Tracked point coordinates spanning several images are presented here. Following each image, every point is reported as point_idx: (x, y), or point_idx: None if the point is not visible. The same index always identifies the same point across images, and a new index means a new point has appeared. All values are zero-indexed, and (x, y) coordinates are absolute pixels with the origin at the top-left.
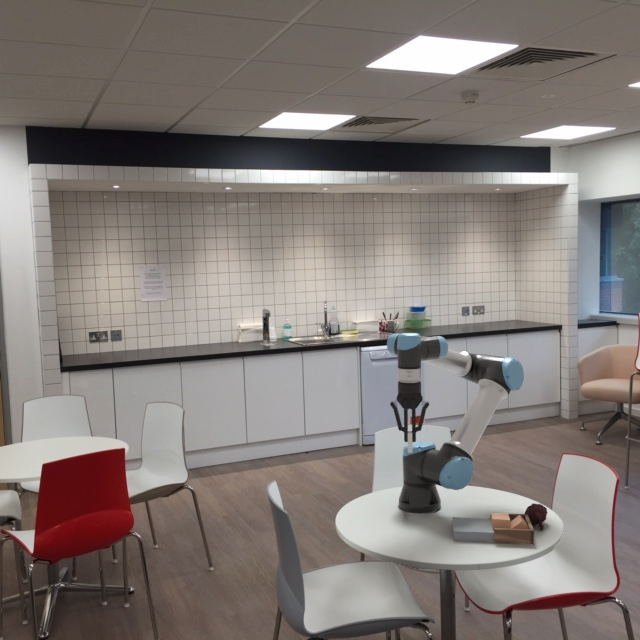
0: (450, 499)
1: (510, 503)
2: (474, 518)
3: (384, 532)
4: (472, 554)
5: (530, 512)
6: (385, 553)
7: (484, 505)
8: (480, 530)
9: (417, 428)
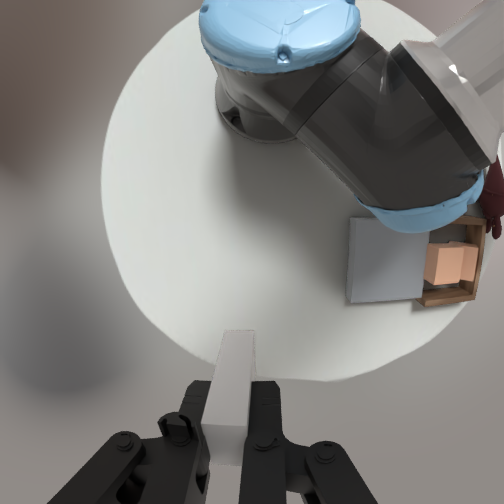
0: None
1: None
2: None
3: (198, 271)
4: (366, 347)
5: (491, 208)
6: (215, 361)
7: None
8: (401, 291)
9: (299, 485)
